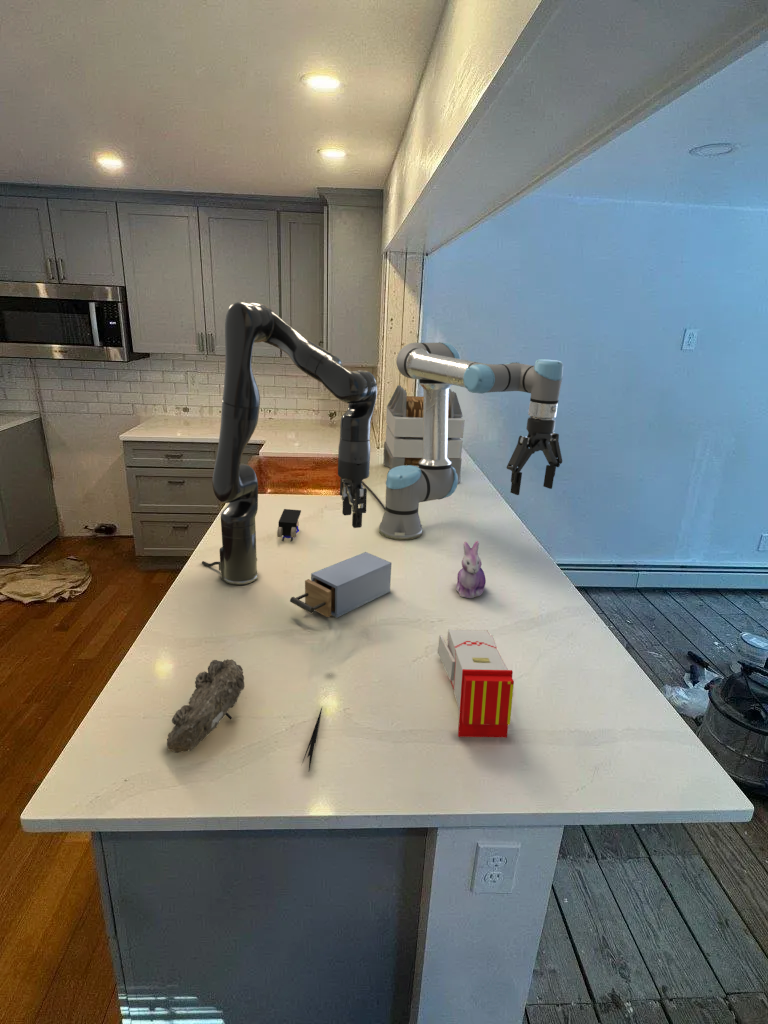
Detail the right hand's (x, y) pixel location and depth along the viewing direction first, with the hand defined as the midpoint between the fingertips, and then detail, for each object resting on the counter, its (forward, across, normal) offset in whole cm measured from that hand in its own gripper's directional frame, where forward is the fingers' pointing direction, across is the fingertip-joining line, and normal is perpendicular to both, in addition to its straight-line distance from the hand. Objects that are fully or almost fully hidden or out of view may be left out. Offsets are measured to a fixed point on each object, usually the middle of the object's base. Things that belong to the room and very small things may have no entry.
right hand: (531, 490), depth 164 cm
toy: (+27, -51, -36) cm, 68 cm away
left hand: (+2, -56, +6) cm, 57 cm away
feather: (+27, -82, -27) cm, 91 cm away
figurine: (+27, -21, -2) cm, 34 cm away
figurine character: (+27, -50, +59) cm, 82 cm away
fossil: (+27, -100, -16) cm, 104 cm away
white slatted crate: (+27, +39, +104) cm, 114 cm away
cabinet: (+27, -53, +12) cm, 60 cm away
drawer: (+26, -58, +10) cm, 65 cm away
